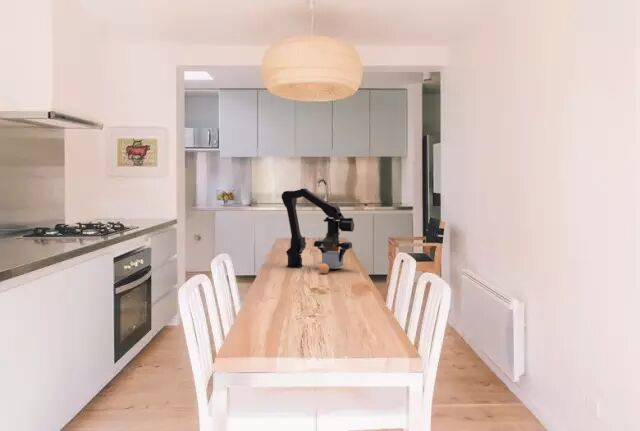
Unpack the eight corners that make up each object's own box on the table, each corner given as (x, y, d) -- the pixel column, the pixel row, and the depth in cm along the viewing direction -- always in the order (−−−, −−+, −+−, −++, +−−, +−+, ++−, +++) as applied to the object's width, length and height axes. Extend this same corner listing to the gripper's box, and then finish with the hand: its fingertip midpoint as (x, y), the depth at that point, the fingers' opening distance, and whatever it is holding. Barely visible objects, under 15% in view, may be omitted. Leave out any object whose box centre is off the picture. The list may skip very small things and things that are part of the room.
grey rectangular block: (321, 267, 246) (322, 253, 245) (329, 264, 255) (329, 250, 255) (336, 268, 243) (336, 254, 243) (343, 265, 252) (343, 251, 252)
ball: (316, 274, 237) (317, 263, 237) (320, 272, 242) (321, 262, 241) (326, 275, 235) (326, 264, 235) (330, 273, 240) (330, 263, 239)
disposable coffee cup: (339, 265, 261) (340, 242, 260) (321, 265, 261) (322, 242, 260) (339, 262, 271) (339, 240, 270) (322, 262, 271) (322, 240, 270)
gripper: (309, 231, 244) (309, 262, 245) (345, 233, 237) (344, 265, 238) (318, 229, 254) (318, 259, 256) (352, 231, 247) (352, 261, 248)
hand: (332, 261), depth 249 cm, fingers closed on grey rectangular block, 8 cm apart
